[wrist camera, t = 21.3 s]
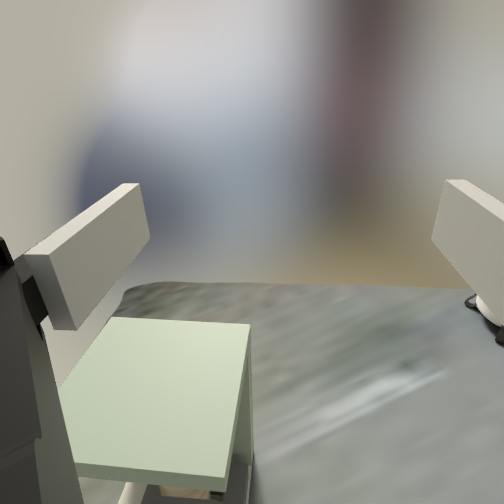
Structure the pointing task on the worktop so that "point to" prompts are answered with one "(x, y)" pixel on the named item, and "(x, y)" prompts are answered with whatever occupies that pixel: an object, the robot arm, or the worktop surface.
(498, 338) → the coffee press
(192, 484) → the awning socket
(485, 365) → the worktop surface
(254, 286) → the worktop surface
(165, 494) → the peg
